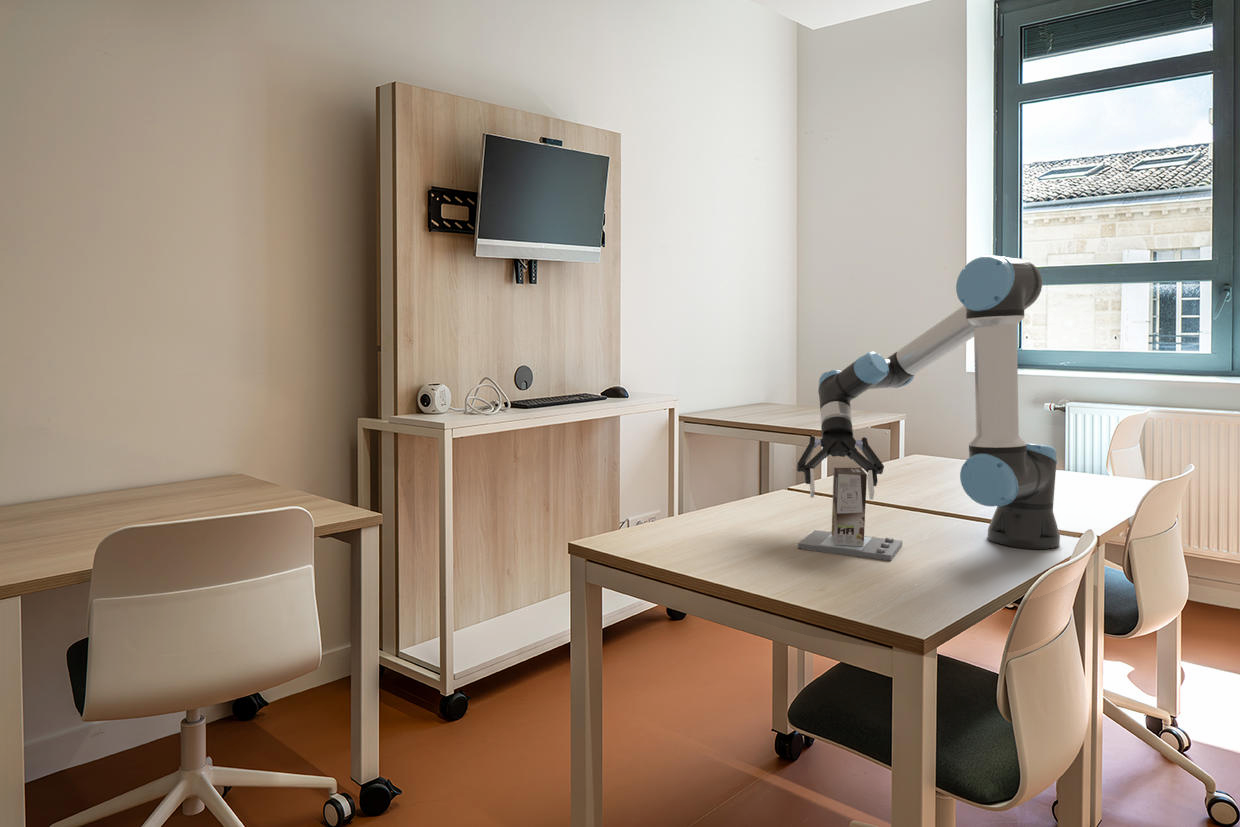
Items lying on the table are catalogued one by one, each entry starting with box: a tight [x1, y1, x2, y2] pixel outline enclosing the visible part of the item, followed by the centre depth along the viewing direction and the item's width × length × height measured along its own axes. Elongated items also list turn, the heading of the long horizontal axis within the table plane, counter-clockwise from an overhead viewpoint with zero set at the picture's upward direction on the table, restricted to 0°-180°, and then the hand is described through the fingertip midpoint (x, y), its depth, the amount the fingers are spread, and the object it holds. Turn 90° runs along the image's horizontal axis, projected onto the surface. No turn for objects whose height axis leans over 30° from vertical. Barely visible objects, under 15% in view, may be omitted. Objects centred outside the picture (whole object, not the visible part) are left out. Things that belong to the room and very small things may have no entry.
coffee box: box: [831, 467, 868, 547], centre depth 191 cm, size 9×6×16 cm
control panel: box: [797, 529, 903, 561], centre depth 192 cm, size 20×14×2 cm
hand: (842, 495), depth 201 cm, fingers open, 13 cm apart
